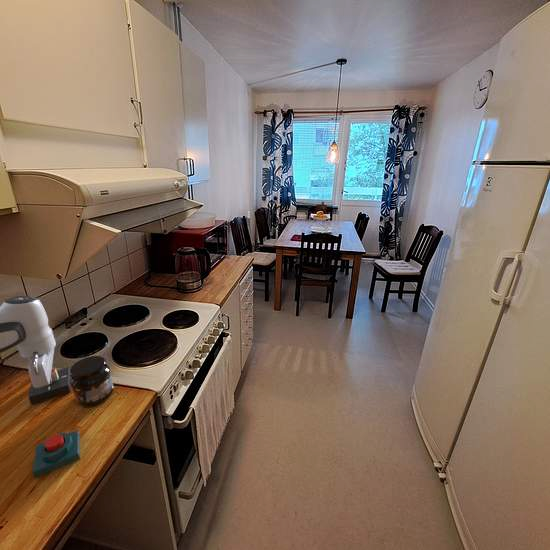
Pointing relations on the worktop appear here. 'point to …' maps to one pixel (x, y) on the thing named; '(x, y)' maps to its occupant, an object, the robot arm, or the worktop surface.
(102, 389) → the supplement container
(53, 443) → the timer button
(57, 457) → the teal square base
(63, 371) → the stove panel
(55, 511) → the worktop surface
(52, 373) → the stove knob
